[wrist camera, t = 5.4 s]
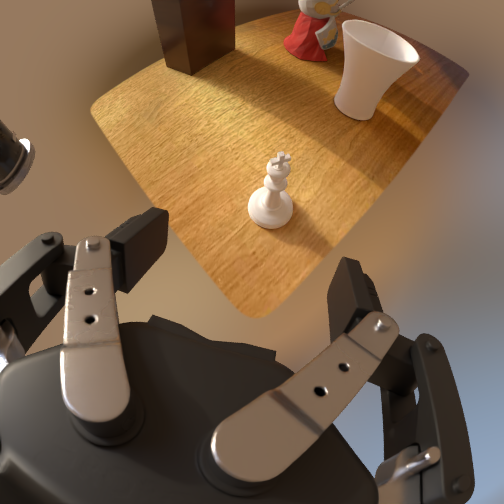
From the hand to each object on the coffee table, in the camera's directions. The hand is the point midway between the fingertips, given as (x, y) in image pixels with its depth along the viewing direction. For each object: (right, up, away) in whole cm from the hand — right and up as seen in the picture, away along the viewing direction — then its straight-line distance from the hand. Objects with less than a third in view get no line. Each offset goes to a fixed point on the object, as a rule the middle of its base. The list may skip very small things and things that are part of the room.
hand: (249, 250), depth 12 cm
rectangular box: (-9, +34, +26) cm, 44 cm away
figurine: (+12, +39, +28) cm, 49 cm away
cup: (+16, +22, +23) cm, 36 cm away
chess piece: (+2, +5, +18) cm, 19 cm away
